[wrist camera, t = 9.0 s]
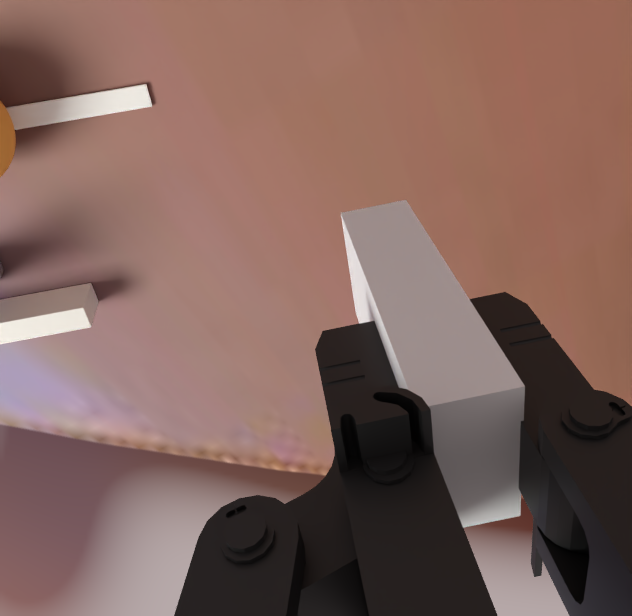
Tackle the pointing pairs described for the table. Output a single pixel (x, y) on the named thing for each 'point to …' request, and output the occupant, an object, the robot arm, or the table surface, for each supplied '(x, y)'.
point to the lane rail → (47, 313)
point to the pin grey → (1, 269)
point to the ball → (6, 139)
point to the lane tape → (80, 106)
